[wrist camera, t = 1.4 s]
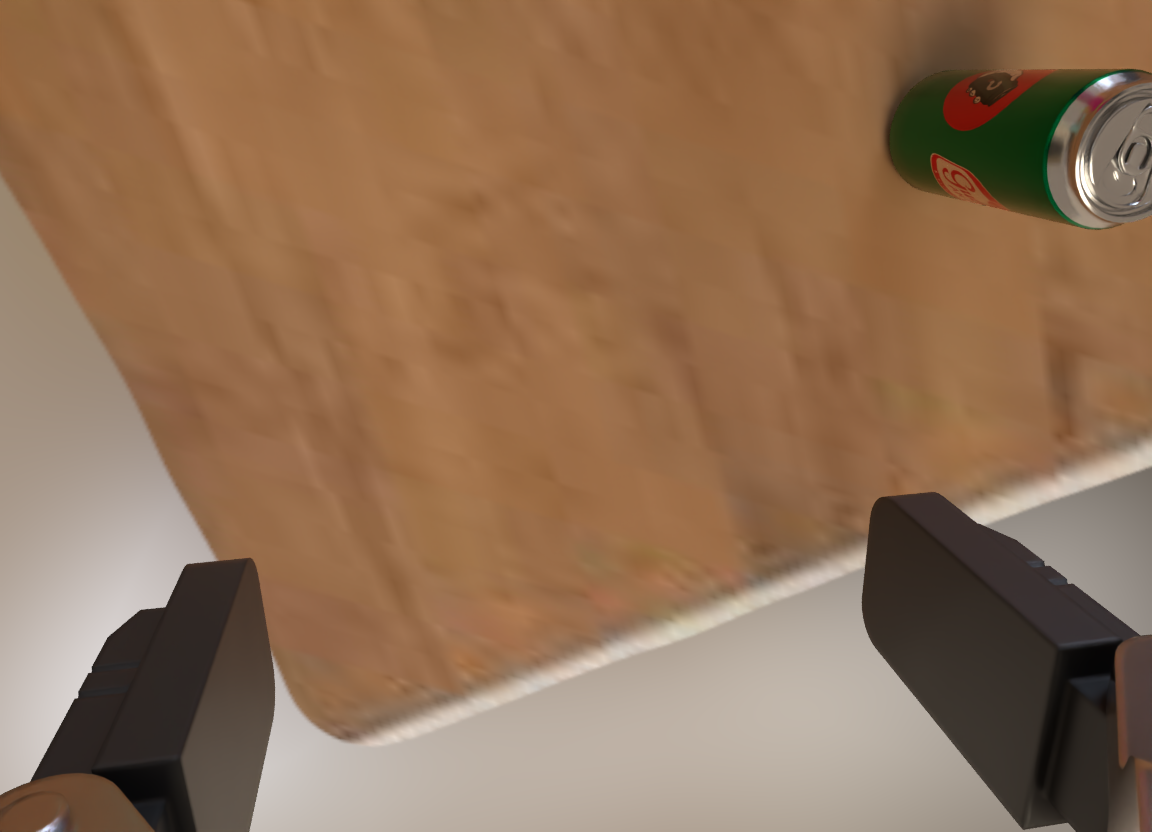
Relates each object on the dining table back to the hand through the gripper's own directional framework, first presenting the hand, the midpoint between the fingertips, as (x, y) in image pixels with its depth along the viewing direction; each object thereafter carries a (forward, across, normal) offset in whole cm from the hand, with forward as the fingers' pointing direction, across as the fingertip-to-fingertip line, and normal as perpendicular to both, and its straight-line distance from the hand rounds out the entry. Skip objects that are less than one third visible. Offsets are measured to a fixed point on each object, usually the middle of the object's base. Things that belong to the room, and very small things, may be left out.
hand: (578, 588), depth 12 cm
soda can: (+29, -21, -3) cm, 36 cm away
